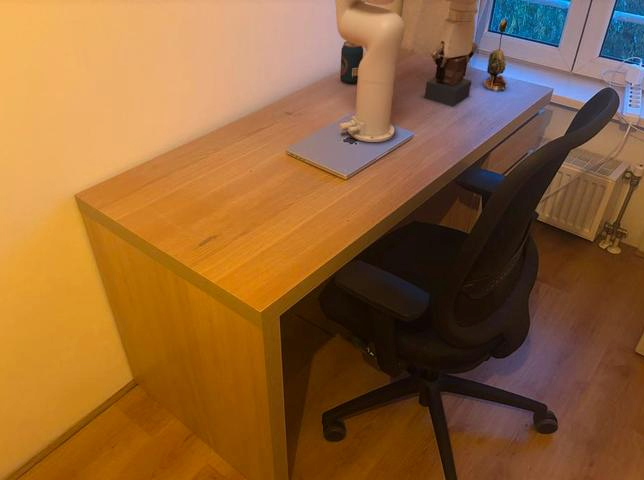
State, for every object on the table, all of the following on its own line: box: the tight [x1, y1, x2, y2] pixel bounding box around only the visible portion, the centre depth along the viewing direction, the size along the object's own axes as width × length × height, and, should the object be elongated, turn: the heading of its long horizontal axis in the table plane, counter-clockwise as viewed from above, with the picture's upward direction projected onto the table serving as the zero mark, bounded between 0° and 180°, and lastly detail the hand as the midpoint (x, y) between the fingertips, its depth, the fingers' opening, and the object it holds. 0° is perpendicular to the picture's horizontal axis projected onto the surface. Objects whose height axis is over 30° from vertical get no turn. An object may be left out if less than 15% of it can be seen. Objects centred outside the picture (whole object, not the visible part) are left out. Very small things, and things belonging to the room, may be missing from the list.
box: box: [436, 56, 467, 86], centre depth 161 cm, size 6×6×7 cm
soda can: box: [339, 40, 364, 86], centre depth 171 cm, size 7×7×12 cm
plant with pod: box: [482, 18, 508, 92], centre depth 167 cm, size 8×11×20 cm
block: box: [424, 76, 472, 107], centre depth 165 cm, size 10×10×5 cm
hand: (450, 76), depth 163 cm, fingers closed on box, 7 cm apart
